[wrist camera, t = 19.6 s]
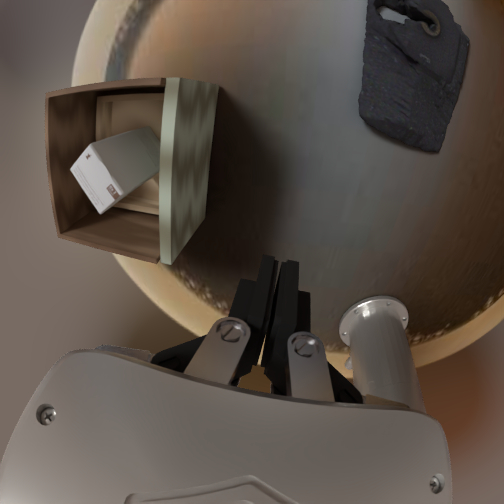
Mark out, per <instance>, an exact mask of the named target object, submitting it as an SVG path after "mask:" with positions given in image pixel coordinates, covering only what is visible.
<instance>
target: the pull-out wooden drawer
mask: <svg viewBox="0 0 504 504" xmlns="http://www.w3.org/2000/svg"><path fill="white" fill-rule="evenodd" d="M218 90H219V85H217V84H212V83H207V82H202V81H196V80H191V79H184V78H166V86H165V93H150V94H124V95H110V96H100V97H97V110H96V142H97V141H100V140H103V139H106V138H109V137H112V136H115V135H118V134H121V133H125V132H128V131H132V130H135V129H139V128H143V127H146V126H149V127H150V128H151V130H152V131H153V133H154V134H155V136H156V137H157V139H158V140H159V142H160V143H161V146H160V171H159V173H157V174H156V175H155V176H153V177H152V178H151V179H149V180H148V181H147V182H145V183H144V184H142V185H141V186H139V187H138V188H136V189H135V190H134V191H132V192H131V193H129V194H128V195H127V196H125V197H124V198H122V199H121V200H120V201H118V202H117V203H116V204H114V205H113V206H112V207H118V208H124V209H129V210H135V211H140V212H146V213H151V214H157V215H159V231H160V257H161V263H165V264H169V265H172V263H173V262H174V260H175V259H176V257H177V256H178V255H179V253H180V252H181V250H182V249H183V247H184V246H185V245H186V243H187V242H188V241H189V239H190V238H191V236H192V235H193V234H194V232H195V231H196V230H197V228H198V227H199V225H200V224H201V223H202V221H203V220H204V219H205V211H206V198H207V187H208V176H209V165H210V155H211V146H212V137H213V129H214V120H215V112H216V105H217V97H218Z"/></svg>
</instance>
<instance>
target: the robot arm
mask: <svg viewBox="0 0 504 504" xmlns="http://www.w3.org/2000/svg"><path fill="white" fill-rule="evenodd" d="M274 258H275V257H273V256H268V255H263V257H262V262H261V266H260V270H259V274H258V278H257V282H255V281H251V280H246V279H240V282H239V285H238V288H237V291H236V294H235V297H234V300H233V304H232V307H231V310H230V313H229V316H228V317H225V318H221V319H219V320H217V321H216V322H215V323H214V324H213V326H212V327H211V329H210V331H209V332H208V334H207V335H204V336H202V337H199V338H196V339H194V340H191V341H188V342H185V343H183V344H180V345H177V346H175V347H172V348H169V349H166V350H163V351H161V352H159V353H157V354H150V352H149V351H145V350H137V349H130V348H124V347H117V346H111V345H101V346H98V347H96V348H95V349H79V350H74V351H70V352H68V353H67V354H65V355H64V356H62V357H61V358H60V359H59V360H58V361H57V362H56V363H55V364H54V365H53V367H52V368H51V369H50V370H49V372H48V373H47V374H46V376H45V377H44V379H43V380H42V382H41V383H40V384H39V386H38V388H37V389H36V391H35V392H34V394H33V396H32V397H31V399H30V401H29V403H28V404H27V406H26V408H25V410H24V412H23V414H22V415H21V418H20V420H19V421H18V423H17V425H16V427H15V429H14V431H13V434H12V436H11V438H10V441H9V443H8V446H7V448H6V451H5V453H4V456H3V458H2V461H1V464H0V504H452V474H451V464H450V456H449V450H448V445H447V441H446V438H445V434H444V431H443V429H442V426H441V425H440V423H439V422H438V421H437V420H436V419H435V418H433V417H432V416H430V415H428V414H426V410H425V406H424V402H423V397H422V393H421V389H420V385H419V381H418V377H417V373H416V369H415V365H414V361H413V358H412V354H411V350H410V347H409V344H408V340H407V337H406V334H405V331H404V330H405V328H406V326H407V324H408V318H409V316H408V311H407V309H406V307H405V305H404V304H403V303H402V302H401V301H400V300H398V299H396V298H394V297H390V296H374V297H370V298H367V299H364V300H362V301H360V302H358V303H356V304H354V305H353V306H352V307H351V308H349V309H348V310H347V311H346V312H345V314H344V315H343V317H342V318H341V321H340V324H339V333H340V337H341V339H342V340H343V342H344V343H345V344H347V345H348V346H350V350H351V352H350V357H349V358H348V359H347V361H346V362H345V367H346V368H347V369H349V370H350V369H353V379H354V386H353V385H352V384H351V383H350V382H349V381H348V380H347V379H346V378H345V377H344V376H343V375H342V374H341V373H339V372H338V371H337V370H336V369H335V368H334V367H333V366H332V365H331V364H330V363H329V362H328V361H327V359H326V354H325V349H324V345H323V343H322V341H321V340H320V339H319V338H318V337H317V336H315V335H314V334H312V333H310V293H309V292H304V291H299V290H298V281H299V262H297V261H292V260H287V262H282V264H281V268H280V272H279V276H278V280H277V284H276V288H275V282H276V276H277V269H278V262H279V261H277V260H274ZM274 289H275V292H274ZM266 331H267V332H266ZM265 335H266V337H265ZM264 338H265V343H264V349H263V355H262V360H261V367H265V370H264V374H265V375H266V376H267V377H268V378H269V379H270V381H271V387H270V388H271V394H269V393H264V392H258V391H253V390H249V389H244V388H239V387H237V386H238V384H239V381H240V378H241V377H242V376H244V375H246V374H248V373H250V372H251V369H252V365H255V366H256V365H257V363H258V359H259V356H260V352H261V349H262V345H263V342H264Z"/></svg>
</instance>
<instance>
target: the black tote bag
mask: <svg viewBox="0 0 504 504" xmlns="http://www.w3.org/2000/svg"><path fill="white" fill-rule="evenodd" d="M380 6H387V7H389V8H392V9H394V10H396V11H397V12H399V13H400V14H402V15H407V16H408V17H409V18H411V19H413V20H415V21H413V20H409V19H405V24H401V23H398V22H396V21H391V20H386V19H383V18H382V16H381V15H380V14H379V13H378V12H377V8H378V7H380ZM366 21H367V23H366V31H367V32H366V34H365V35H366V38H365V40H364V42H365V46H364V51H363V62H364V63H365V64H364V66H363V77H362V90H361V93H360V95H359V99H358V102H359V114H360V117H361V118H362V119H363V120H364V121H365V122H366V123H367V124H369V125H370V126H372V127H375V128H377V129H378V130H380V131H382V132H384V133H386V134H387V135H388V136H391V137H393V138H396V139H400V140H401V141H403V142H404V143H406V144H408V145H412V146H414V147H421V149H422V150H424V151H437V152H439V150H440V148H441V146H442V142H443V140H444V138H445V134H446V129H447V125H448V124H449V123H450V119H451V117H452V112H453V110H454V107H455V104H456V101H457V99H458V95H459V89H460V85H461V83H462V77H463V73H464V69H465V61H466V58H467V50H468V45H469V38H468V37H467V36H466V35H465V34H464V33H463V31H462V30H461V26H460V25H459V24H457V23H455V22H454V20H453V15H452V13H451V12H450V10H449V7H448V6H447V5H446V4H445V3H444V2H443V1H441V0H368V6H367V17H366Z"/></svg>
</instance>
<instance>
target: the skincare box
mask: <svg viewBox="0 0 504 504" xmlns="http://www.w3.org/2000/svg"><path fill="white" fill-rule="evenodd" d="M160 146H161V143H160V142H159V140H158V139H157V137H156V136H155V134H154V133H153V131H152V130H151V128H150V127H149V126H146V127H143V128H139V129H135V130H132V131H128V132H125V133H121V134H118V135H115V136H112V137H109V138H106V139H103V140H100V141H97V142H94V143H91V144H90V145H89V146H88V147H87V148H86V150H85V151H84V152H83V153H82V154H81V156H80V157H79V158H78V159H77V161H76V162H75V163H74V165H73V166H72V167H71V169H70V170H71V172H72V173H73V175H74V176H75V178H76V180H77V181H78V183H79V184H80V186H81V187H82V189H83V190H84V192H85V193H86V195H87V196H88V198H89V199H90V200H91V202H92V203H93V205H94V206H95V208H96V209H97V211H98V212H99V214H103V213H104V212H105V211H107V210H108V209H109V208H111V207H112V206H113V205H114V204H116V203H117V202H118V201H120V200H121V199H122V198H124V197H125V196H127V195H128V194H129V193H131V192H132V191H134V190H135V189H136V188H138V187H139V186H141V185H142V184H144V183H145V182H147V181H148V180H149V179H151V178H152V177H153V176H155V175H156V174H157V173H159V171H160Z"/></svg>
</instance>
